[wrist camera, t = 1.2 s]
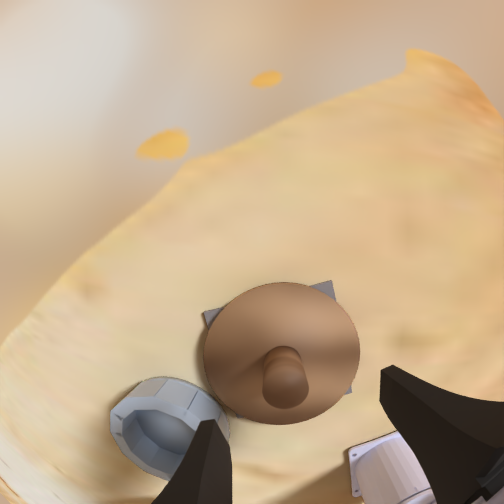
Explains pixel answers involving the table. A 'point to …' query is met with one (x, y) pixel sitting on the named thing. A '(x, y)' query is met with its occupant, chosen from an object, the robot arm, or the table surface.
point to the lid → (281, 353)
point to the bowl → (162, 422)
